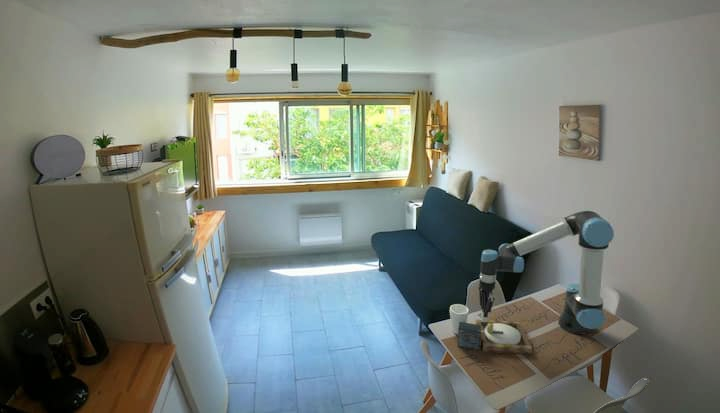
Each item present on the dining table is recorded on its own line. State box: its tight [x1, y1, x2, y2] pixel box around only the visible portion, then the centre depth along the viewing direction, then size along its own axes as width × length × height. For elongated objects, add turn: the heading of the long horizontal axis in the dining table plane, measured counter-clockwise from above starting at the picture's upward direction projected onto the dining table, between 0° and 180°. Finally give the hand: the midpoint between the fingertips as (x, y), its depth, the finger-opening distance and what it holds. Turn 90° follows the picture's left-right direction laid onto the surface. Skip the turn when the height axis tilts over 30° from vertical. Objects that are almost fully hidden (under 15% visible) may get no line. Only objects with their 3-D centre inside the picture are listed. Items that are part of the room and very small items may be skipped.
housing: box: [475, 319, 533, 356], centre depth 187 cm, size 22×22×4 cm
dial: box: [484, 323, 521, 345], centre depth 186 cm, size 17×17×6 cm
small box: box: [457, 322, 481, 351], centre depth 182 cm, size 11×6×10 cm, turn 71°
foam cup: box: [449, 303, 470, 335], centre depth 193 cm, size 10×9×13 cm
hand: (484, 321), depth 193 cm, fingers closed
